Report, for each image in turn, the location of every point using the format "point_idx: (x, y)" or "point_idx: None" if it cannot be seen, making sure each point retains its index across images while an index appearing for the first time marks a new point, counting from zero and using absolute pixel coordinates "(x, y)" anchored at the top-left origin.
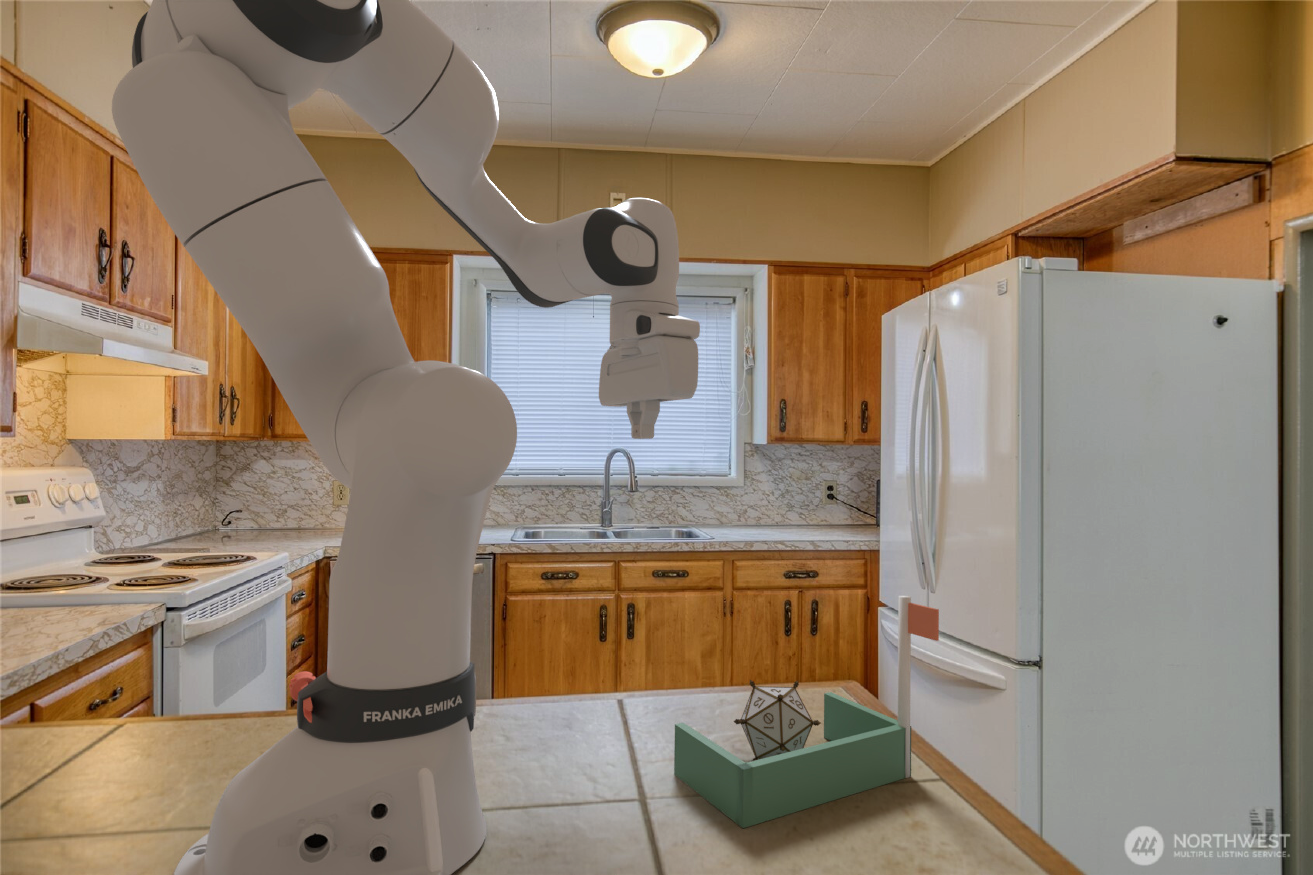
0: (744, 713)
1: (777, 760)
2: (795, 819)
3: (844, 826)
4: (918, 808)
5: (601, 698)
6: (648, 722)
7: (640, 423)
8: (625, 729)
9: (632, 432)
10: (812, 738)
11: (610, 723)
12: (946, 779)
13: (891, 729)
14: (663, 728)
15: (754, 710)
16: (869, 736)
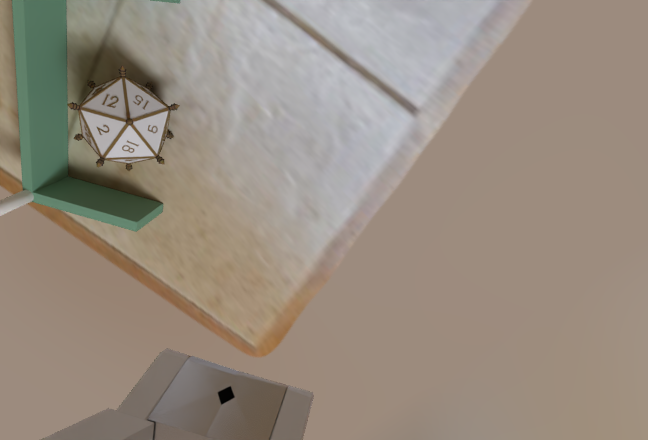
0: (148, 102)
1: (13, 4)
2: None
3: None
4: (15, 129)
5: (439, 93)
6: (320, 81)
7: (136, 421)
8: (322, 38)
9: (292, 410)
10: (168, 193)
11: (352, 36)
12: None
13: (25, 176)
14: (292, 82)
15: (113, 90)
16: (20, 141)
